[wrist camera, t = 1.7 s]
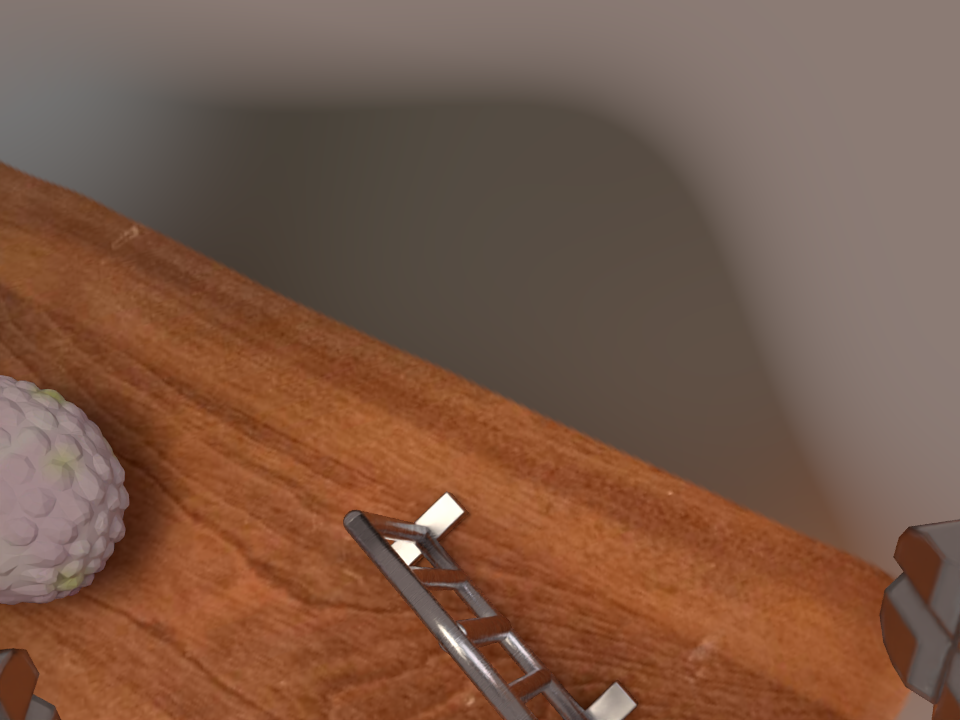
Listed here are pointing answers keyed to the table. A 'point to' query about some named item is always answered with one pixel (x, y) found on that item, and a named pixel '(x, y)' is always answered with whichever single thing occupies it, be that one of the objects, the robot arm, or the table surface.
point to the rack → (472, 633)
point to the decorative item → (54, 495)
